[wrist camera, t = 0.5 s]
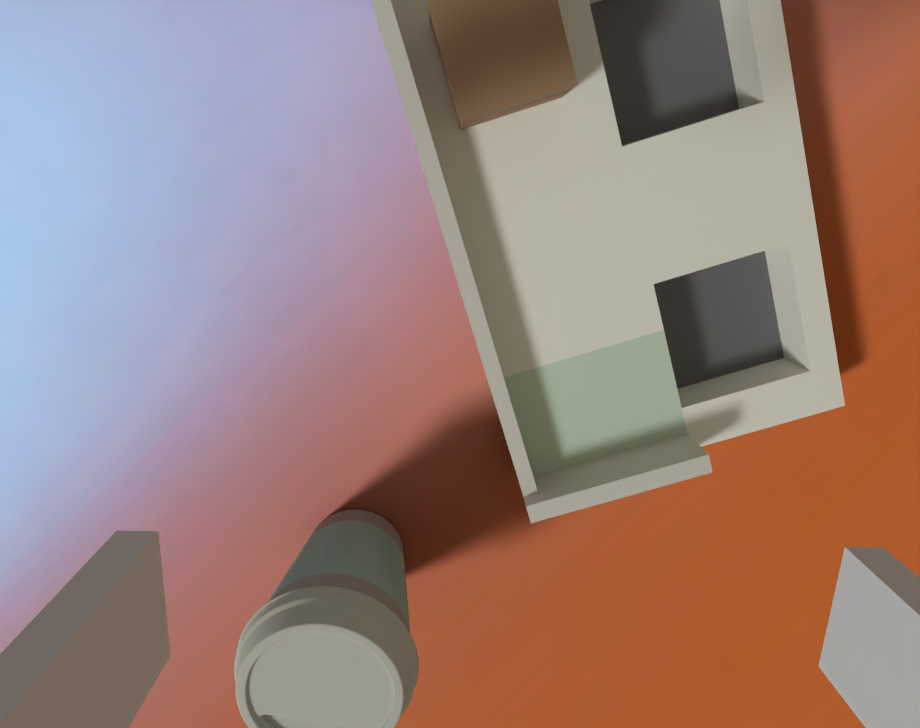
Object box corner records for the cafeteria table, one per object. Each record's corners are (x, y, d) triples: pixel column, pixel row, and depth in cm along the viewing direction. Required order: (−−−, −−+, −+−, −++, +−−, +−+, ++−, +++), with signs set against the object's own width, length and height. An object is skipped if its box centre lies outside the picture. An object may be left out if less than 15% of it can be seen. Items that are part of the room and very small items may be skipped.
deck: (379, 17, 33) (364, -20, 27) (731, -101, 32) (794, -166, 26) (518, 474, 39) (530, 523, 34) (814, 389, 38) (880, 425, 32)
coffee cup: (258, 552, 40) (182, 698, 29) (352, 460, 39) (311, 575, 27) (361, 634, 42) (327, 804, 31) (454, 550, 41) (456, 694, 29)
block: (429, 19, 30) (426, -5, 26) (534, -16, 30) (546, -46, 26) (461, 129, 31) (462, 121, 28) (561, 97, 31) (577, 84, 27)
